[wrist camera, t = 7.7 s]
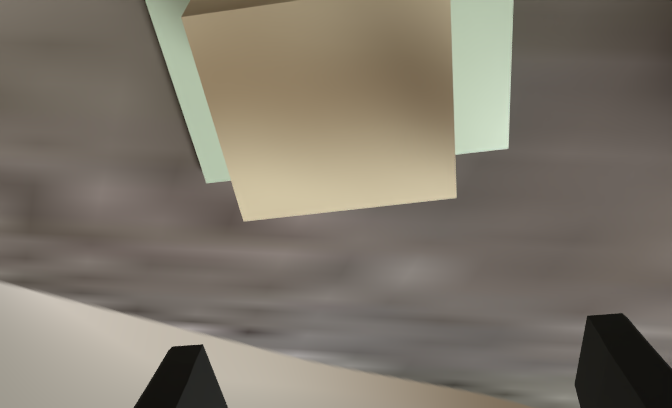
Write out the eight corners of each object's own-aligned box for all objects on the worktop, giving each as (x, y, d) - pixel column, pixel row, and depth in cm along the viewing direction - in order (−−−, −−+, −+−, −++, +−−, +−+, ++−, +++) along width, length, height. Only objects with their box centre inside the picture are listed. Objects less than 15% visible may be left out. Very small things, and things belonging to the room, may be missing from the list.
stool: (428, 87, 18) (456, 197, 14) (265, 107, 19) (243, 221, 14) (418, -92, 15) (449, -22, 11) (224, -63, 16) (181, 17, 11)
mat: (517, -229, 14) (521, -228, 14) (505, 141, 20) (508, 148, 20) (98, -158, 15) (93, -155, 15) (208, 176, 21) (206, 183, 21)
